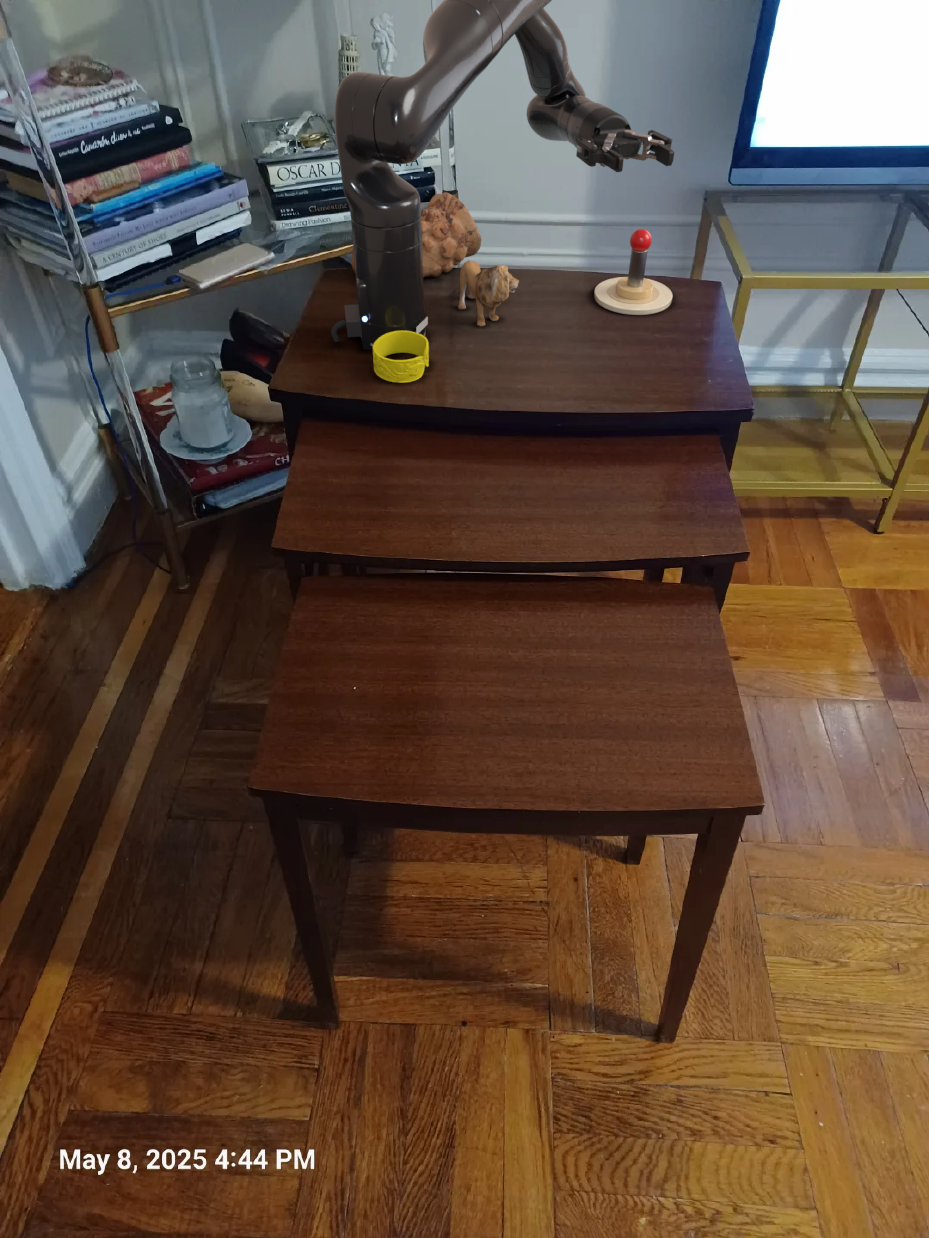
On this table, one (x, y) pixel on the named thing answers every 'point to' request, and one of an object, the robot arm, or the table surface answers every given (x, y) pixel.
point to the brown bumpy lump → (445, 235)
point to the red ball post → (637, 269)
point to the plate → (616, 303)
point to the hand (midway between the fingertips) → (646, 162)
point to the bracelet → (400, 344)
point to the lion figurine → (485, 287)
